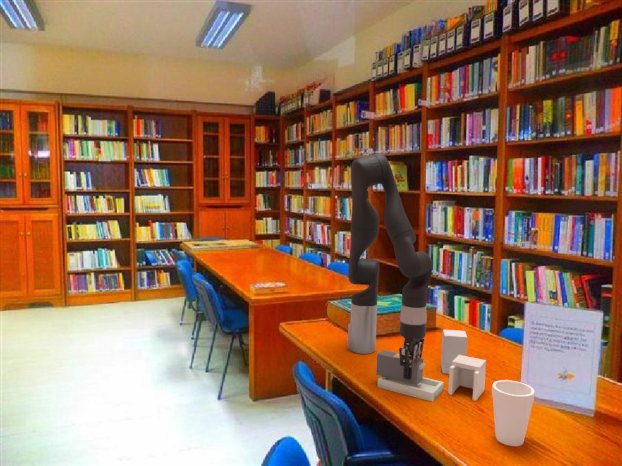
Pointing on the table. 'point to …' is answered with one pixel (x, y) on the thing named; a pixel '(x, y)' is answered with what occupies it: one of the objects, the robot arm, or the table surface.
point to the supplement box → (452, 347)
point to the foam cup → (511, 410)
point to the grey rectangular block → (398, 367)
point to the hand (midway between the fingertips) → (410, 375)
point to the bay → (467, 375)
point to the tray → (413, 387)
